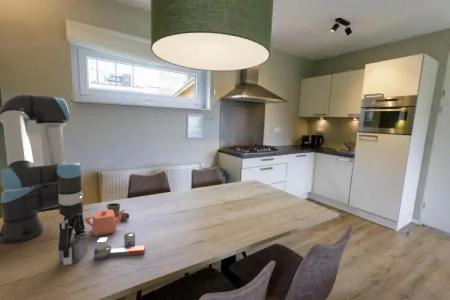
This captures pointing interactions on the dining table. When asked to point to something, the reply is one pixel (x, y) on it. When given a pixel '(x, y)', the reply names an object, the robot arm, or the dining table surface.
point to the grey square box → (76, 247)
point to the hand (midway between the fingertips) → (73, 256)
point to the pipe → (117, 210)
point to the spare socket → (129, 239)
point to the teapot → (104, 222)
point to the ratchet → (115, 250)
